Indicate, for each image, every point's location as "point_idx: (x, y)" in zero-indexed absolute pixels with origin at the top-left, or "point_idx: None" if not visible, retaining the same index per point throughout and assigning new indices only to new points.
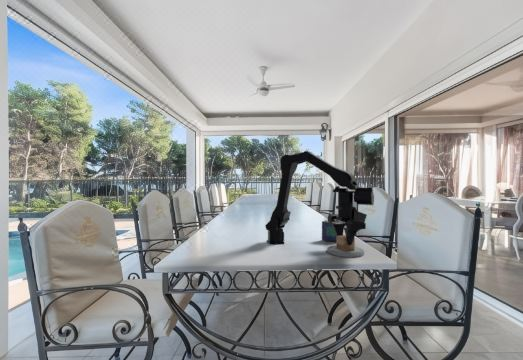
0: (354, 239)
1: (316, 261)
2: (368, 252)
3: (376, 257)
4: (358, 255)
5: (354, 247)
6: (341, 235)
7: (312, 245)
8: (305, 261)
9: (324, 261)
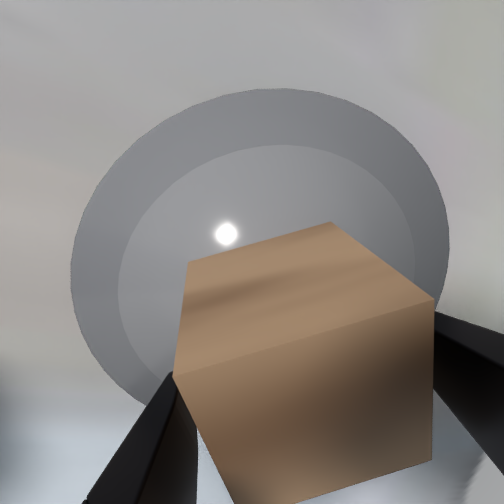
0: (412, 284)
1: (433, 464)
2: (293, 14)
3: (494, 8)
4: (437, 213)
5: (346, 234)
6: (217, 466)
7: (53, 491)
8: (418, 501)
9: (446, 433)
